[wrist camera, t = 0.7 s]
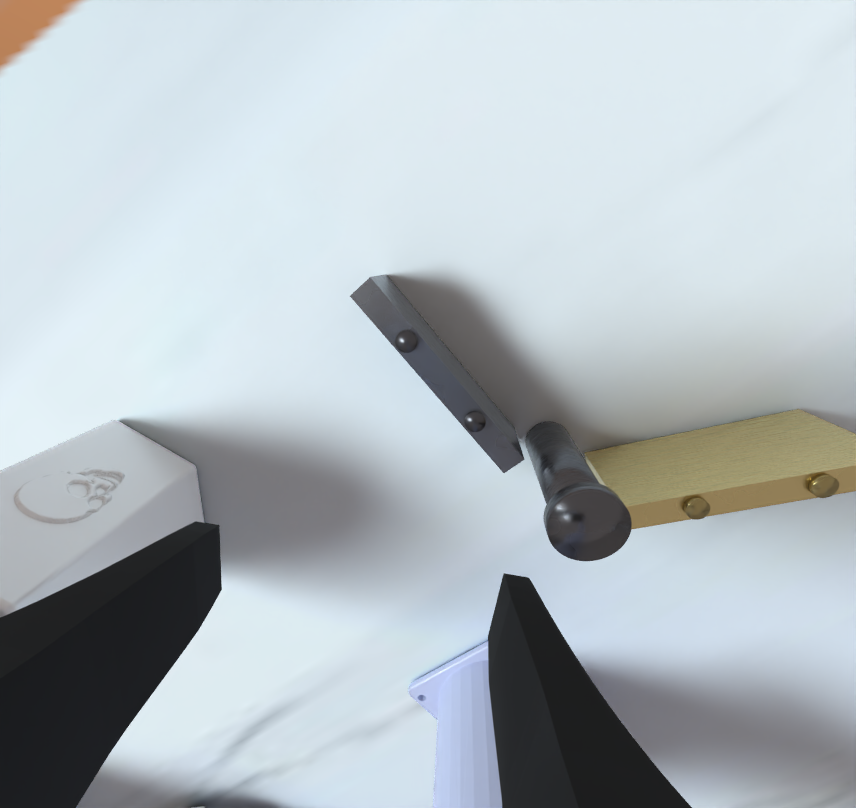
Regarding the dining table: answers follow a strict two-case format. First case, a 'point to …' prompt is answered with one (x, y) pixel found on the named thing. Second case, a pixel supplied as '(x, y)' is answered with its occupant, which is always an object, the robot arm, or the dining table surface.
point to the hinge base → (505, 432)
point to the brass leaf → (728, 467)
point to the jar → (88, 509)
